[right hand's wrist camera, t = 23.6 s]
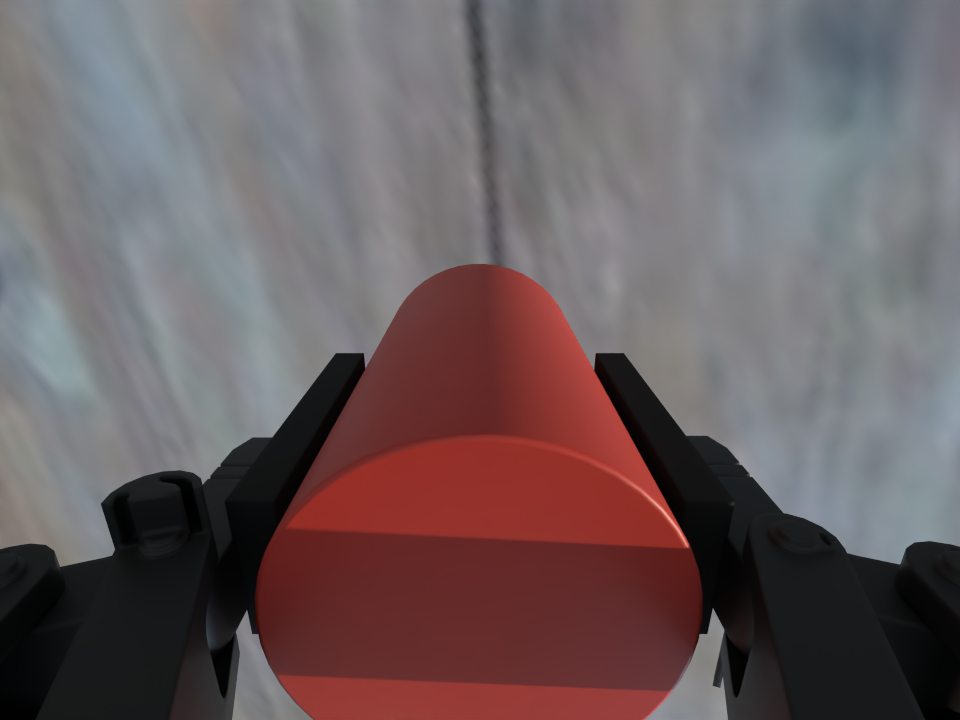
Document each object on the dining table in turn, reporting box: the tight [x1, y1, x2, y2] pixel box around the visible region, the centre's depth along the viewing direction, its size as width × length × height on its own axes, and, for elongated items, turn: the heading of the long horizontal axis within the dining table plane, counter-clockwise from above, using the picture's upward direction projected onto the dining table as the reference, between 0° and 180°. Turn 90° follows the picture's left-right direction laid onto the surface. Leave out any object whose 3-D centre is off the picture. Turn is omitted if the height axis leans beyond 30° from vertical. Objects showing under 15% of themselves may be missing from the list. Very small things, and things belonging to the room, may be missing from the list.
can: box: [255, 264, 703, 720], centre depth 12 cm, size 6×6×11 cm
